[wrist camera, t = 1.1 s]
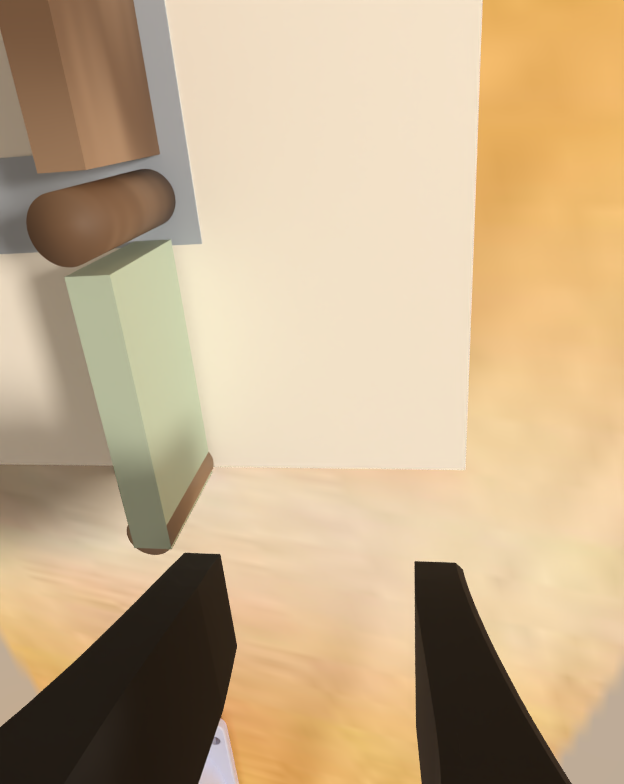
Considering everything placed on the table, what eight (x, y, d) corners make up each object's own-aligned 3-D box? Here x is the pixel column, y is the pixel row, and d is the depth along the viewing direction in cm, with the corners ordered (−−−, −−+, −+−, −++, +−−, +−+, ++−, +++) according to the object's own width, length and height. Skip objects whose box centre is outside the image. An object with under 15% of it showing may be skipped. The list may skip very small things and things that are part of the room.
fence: (180, 224, 15) (104, 266, 11) (129, 227, 16) (37, 269, 12) (108, -206, 12) (-37, -354, 8) (42, -194, 12) (-128, -334, 8)
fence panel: (130, 241, 15) (59, 277, 12) (174, 239, 15) (114, 274, 12) (178, 477, 18) (132, 553, 15) (216, 477, 18) (176, 555, 15)
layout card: (463, 460, 18) (465, 470, 17) (-43, 455, 20) (-54, 464, 20) (490, -292, 11) (493, -310, 10) (-276, -148, 14) (-301, -157, 13)
